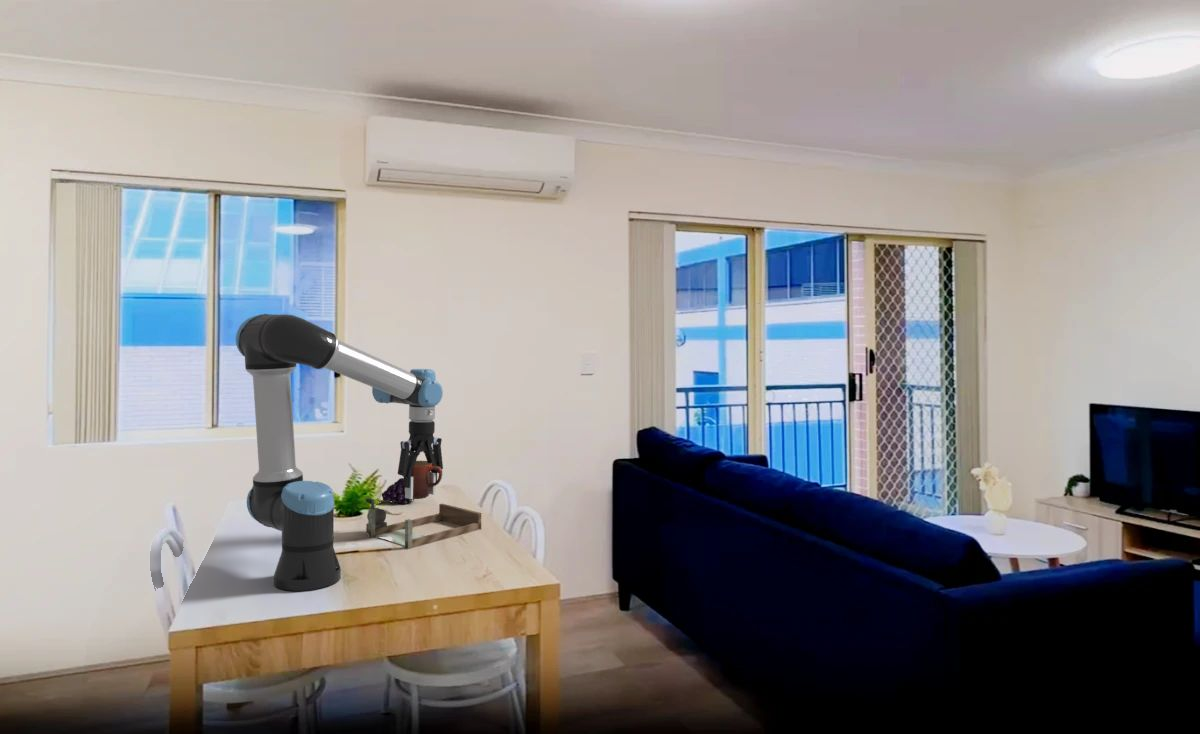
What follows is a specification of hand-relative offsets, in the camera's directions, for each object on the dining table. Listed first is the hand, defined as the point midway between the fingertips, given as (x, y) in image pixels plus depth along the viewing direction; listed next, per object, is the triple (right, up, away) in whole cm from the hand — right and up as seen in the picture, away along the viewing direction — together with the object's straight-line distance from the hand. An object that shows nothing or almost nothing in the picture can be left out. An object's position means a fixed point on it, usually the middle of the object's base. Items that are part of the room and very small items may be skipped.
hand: (420, 496), depth 218 cm
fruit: (-16, -10, +40) cm, 44 cm away
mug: (+1, -1, +1) cm, 1 cm away
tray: (-1, -11, +4) cm, 12 cm away
